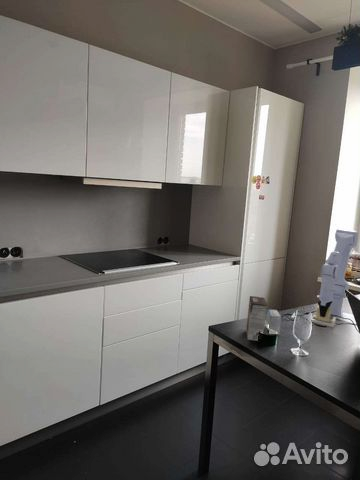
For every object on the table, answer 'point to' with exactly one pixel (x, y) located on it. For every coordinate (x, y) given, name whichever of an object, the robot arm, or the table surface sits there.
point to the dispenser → (324, 322)
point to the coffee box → (256, 317)
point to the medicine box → (274, 320)
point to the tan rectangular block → (325, 316)
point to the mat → (294, 315)
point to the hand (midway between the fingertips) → (323, 315)
